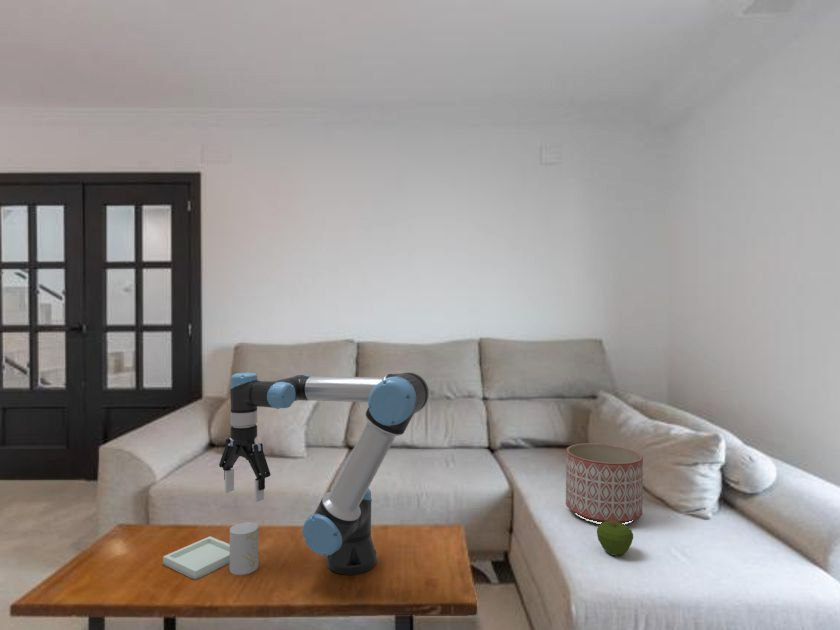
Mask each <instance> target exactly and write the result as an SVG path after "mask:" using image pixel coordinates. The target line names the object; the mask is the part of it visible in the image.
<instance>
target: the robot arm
mask: <svg viewBox="0 0 840 630" xmlns="http://www.w3.org/2000/svg"><path fill="white" fill-rule="evenodd" d="M258 379H259V378H258V375H257V373H255V372H238V373H234V374H233V375H232V376H231V378H230V388H229V391H230V418H229V420H230V421H229V422H230V425H231V427H230V438H227V439H226V440H225V447H224V449H223V453H222V455H221V458H220V460H219V465H218V466H219V468H222V470H223V475H224V477H223V479H224V493H226V494H227V493H230V492H232V491H235V468H234V465H235V464H236V462H237V461H238V460H239V458H240V457H242V458H245V460H246V461H248V463H249V465H250V467H251V470H252V471H253V473H254V475H255V477H256V478H255V479H254V503H258V502H260V501H263V500H265V489H266V478H269V477H270V476H271V472H270V469H269V466H268V462H267V459H266V456H265V452H264V445H263V443H262V442H260V443H256V438H257V437H258V425H257V424H258V407H259V408H261V407H262V408H268V409H269V408H272V409H279V410H280V409H288V408H290V407H291V406H292V404H293V403H294V402H297V401H309V402H310V401H313V402H314V401H318V402H319V401H321V402H322V401H323V402H347V403H348V402H349V403H368V404H367V405H368V407H367V410H366V412H365V415H364V416H365V418H366V421H367V422H366V423H365V426H364V428H363V430H362V431H361V434H360V436H359V437H358V440H357V441H356V443H355V445H354V447H353V449H352V451H351V453H350V455H349V456H348V459H347V460H346V463H345V465H344V467H343V469H342V471H341V472H340V475H339V477H338V478H337V481H336V483H335V484H334V486H333V488H332V490H331V491H328V492H326V493H324V494H323V496H322V498H321V500H320V502H319V504H318V505H317V507H316V509H315V511H314V513H312V514H310V515H309V516H308V517H307V518H306V520H305V521H304V523H303V525H302V538H304V542H305V544H306V546H307V547H308V548H309V549H310V550H311V551H312V552H314V553H315V554H317V555H319V556H321V557H322V556H324V557H325V556H326V566H327V568H328V569H329V570H330V571H331V572H333V573H336V574H340V575H346V576H347V575H352V576H353V575H358V574H363V573H366V572H368V571H370V570H372V569H373V568H374V567H375V566H376V563H377V557H378V556H377V551H376V549H375V546H374V542H373V537H372V501H373V499H372V492H371V490H370V486H371V484H372V482H373V480H374V478H375V476H376V474H377V473H378V471H379V468H380V466H381V465H382V462H383V461H384V459H385V457H386V455H387V454H388V452H389V450H390V448H391V446H392V443H393V442H394V440H395V438H396V437H398V436H399V437H400V436H402V435H403V434H405V432H406V429H407V428H408V426H409V424H410V422H411V420H412V418H413V417H414V415H415V414H416V413H418V412H420V411H421V410H422V409H423V408H424V407H425V406H426V405H427V403H428V400H429V396H430V392H429V391H430V390H429V386H428V384H427V382H426V381H425V379H424V378H423V377H422V376H420V375H419V374H418V373H417V374H416V373H414V372H403V373H387V374H386V375H385V376H379V377H378V376H377V377H376V376H318V375H317V376H311V375H310V376H309V375H307V374H298V375H297V374H296V375H294V376H290V377H287V378H283V379H278V380H273V381H272V380H271V381H265V380H258Z"/></svg>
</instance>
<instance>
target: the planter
mask: <svg viewBox="0 0 840 630" xmlns="http://www.w3.org/2000/svg"><path fill="white" fill-rule="evenodd" d="M565 457H566V459H565V460H566V462H565V464H566V465H565V506H566V507H567V508H568V510H570V511H572V512H573V513H574V512H575V513H577V514H578V515H580V516H582V517H584V518H586V519H589V520H593V521H597V522H602V523H603V522H605V521H617V522H620V523H625V522H629V521H632V520H634V521H636V520H639V518H640V517H642V515H643V492H644V491H643V486H644V483H643V481H644V480H643V479H644V478H643V476H644V475H643V474H644V456H643V455H642V454H641V452H638V451H636V450H634V449H632V448H628V447H625V446H621V445H615V444H608V443H599V442H598V443H597V442H596V443H594V442H590V443H589V442H586V443H576V444H572V445H570V446H568V447H566V455H565Z"/></svg>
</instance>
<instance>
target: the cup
mask: <svg viewBox="0 0 840 630" xmlns="http://www.w3.org/2000/svg"><path fill="white" fill-rule="evenodd" d="M229 544H230V563H229V573H230V574H233V575H234V576H245V575H249V574H251V573H253V572H255V571H257V569H258V568H259V525H258V524H257V523H256V522H252V521H250V522H249V521H248V522H246V521H245V522H240V523H237V524H234V525H233V526H231V527H230V528H229Z"/></svg>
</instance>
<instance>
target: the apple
mask: <svg viewBox="0 0 840 630" xmlns="http://www.w3.org/2000/svg"><path fill="white" fill-rule="evenodd" d="M596 535H597V539H598V541H599V543H600V545H601V547H602V549H604V550H605V551H606V552H607V553H608V552H609V553H608V554H610V555H612V554H613V555H612V556H616V555H617V556H622V555H624V554H626V553H627V552H628V550H629V549H630V547H631V545H632V543H633V539H634V533H633V531H632V529H631V528H630V527H628V525H624V524H622V523H620V522H617V521H605V522H603V523H601V524H600V525H598V527H597V529H596Z"/></svg>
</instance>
